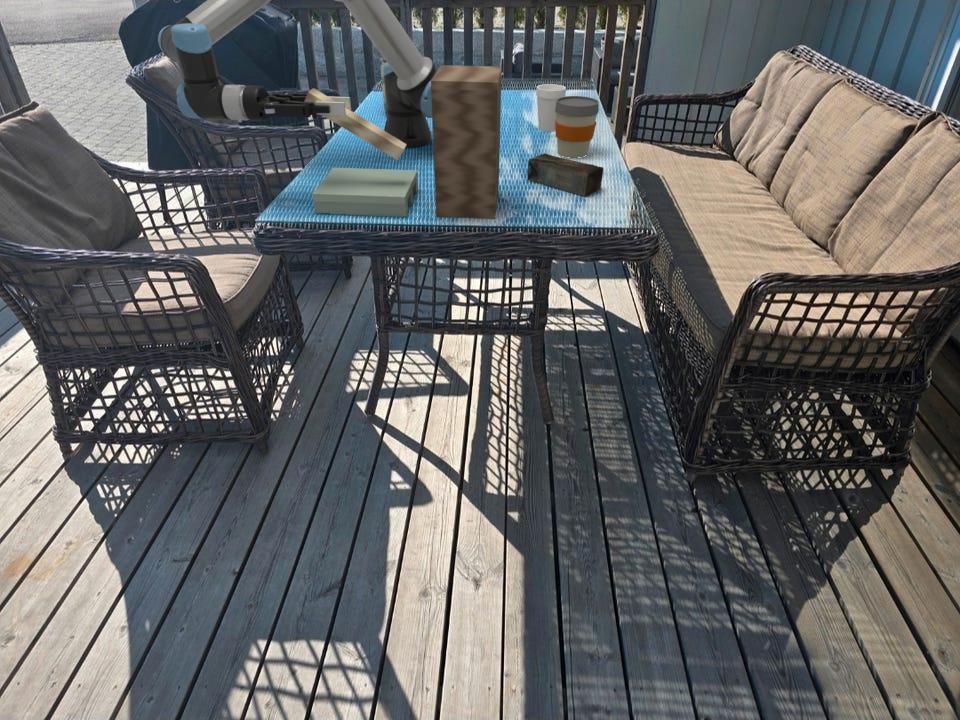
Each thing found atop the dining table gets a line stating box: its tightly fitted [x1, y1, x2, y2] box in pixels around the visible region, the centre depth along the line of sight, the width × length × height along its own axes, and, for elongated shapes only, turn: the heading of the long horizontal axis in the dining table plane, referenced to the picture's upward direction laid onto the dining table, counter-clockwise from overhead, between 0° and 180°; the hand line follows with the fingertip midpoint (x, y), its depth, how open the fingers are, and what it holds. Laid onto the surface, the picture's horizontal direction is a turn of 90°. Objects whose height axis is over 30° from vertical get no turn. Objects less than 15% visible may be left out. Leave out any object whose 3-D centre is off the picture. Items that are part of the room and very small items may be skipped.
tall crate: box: [431, 64, 503, 220], centre depth 139 cm, size 14×16×30 cm
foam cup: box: [535, 83, 567, 133], centre depth 197 cm, size 10×9×13 cm
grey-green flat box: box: [311, 167, 419, 218], centre depth 148 cm, size 22×18×5 cm
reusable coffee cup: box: [554, 95, 600, 159], centre depth 176 cm, size 13×13×15 cm
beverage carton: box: [526, 152, 604, 197], centre depth 158 cm, size 8×19×7 cm, turn 50°
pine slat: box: [304, 87, 407, 161], centre depth 139 cm, size 24×4×3 cm
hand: (347, 106), depth 136 cm, fingers closed on pine slat, 4 cm apart
